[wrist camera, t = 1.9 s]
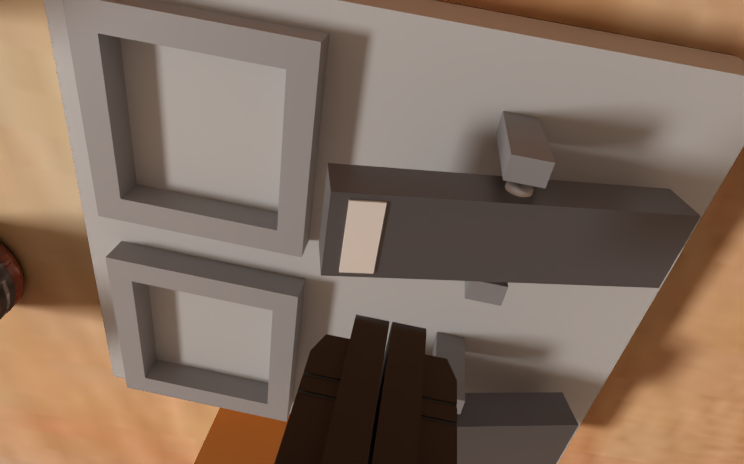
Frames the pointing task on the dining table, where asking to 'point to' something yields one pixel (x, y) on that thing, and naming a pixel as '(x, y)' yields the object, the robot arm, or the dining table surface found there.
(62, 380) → the dining table surface
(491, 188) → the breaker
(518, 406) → the breaker
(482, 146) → the breaker panel
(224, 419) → the cap
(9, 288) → the supplement bottle
